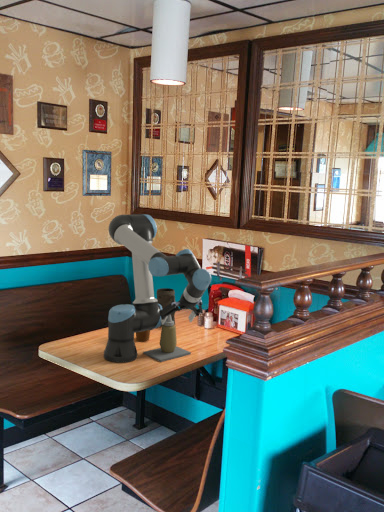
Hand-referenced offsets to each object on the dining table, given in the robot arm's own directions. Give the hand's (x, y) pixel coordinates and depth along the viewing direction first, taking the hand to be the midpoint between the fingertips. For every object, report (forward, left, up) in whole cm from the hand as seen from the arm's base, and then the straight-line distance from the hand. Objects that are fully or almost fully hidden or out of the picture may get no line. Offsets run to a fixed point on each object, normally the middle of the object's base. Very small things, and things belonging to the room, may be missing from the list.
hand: (176, 320), depth 240 cm
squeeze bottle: (+2, +8, -17) cm, 19 cm away
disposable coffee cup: (+4, +30, -18) cm, 35 cm away
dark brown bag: (+30, +42, -18) cm, 55 cm away
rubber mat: (+1, +7, -18) cm, 19 cm away
